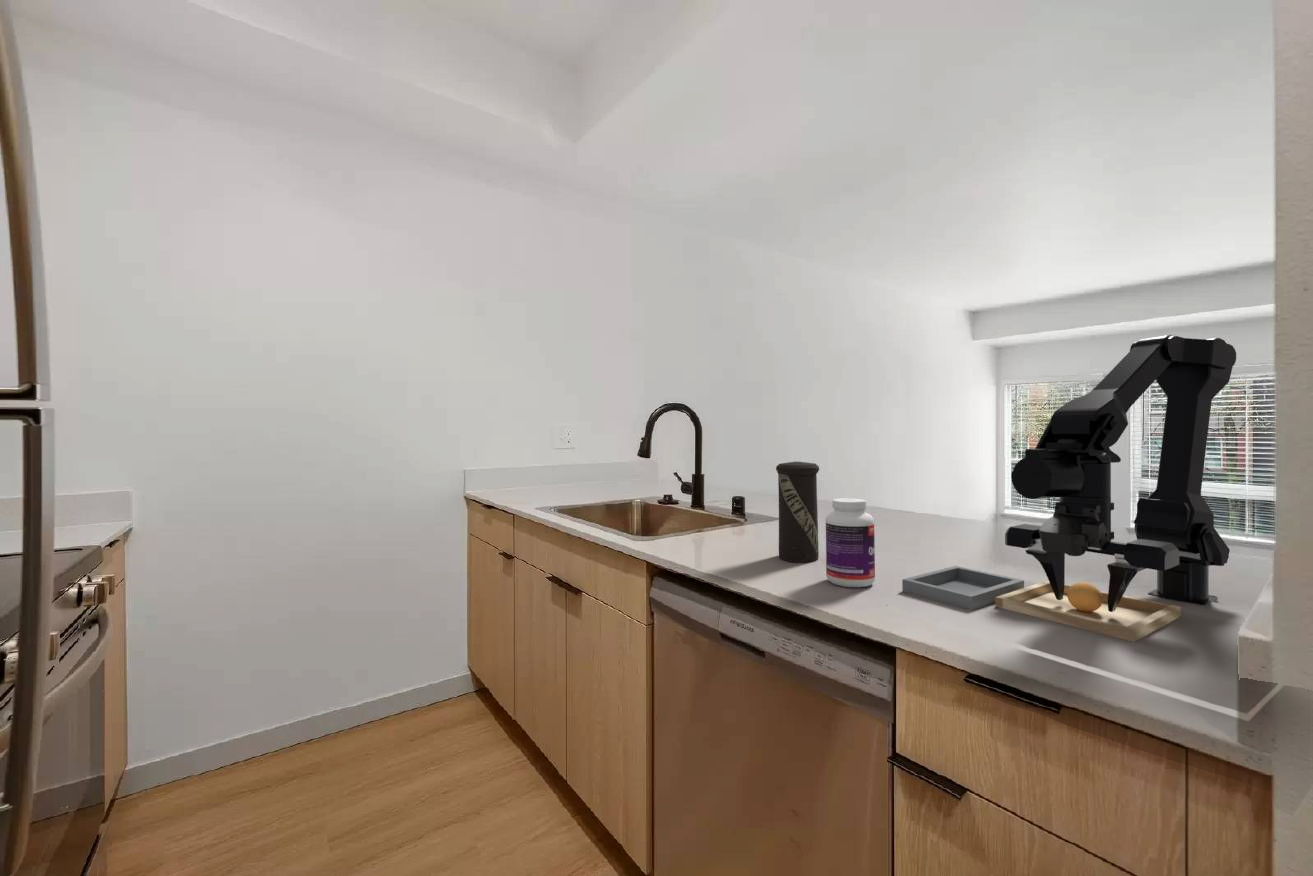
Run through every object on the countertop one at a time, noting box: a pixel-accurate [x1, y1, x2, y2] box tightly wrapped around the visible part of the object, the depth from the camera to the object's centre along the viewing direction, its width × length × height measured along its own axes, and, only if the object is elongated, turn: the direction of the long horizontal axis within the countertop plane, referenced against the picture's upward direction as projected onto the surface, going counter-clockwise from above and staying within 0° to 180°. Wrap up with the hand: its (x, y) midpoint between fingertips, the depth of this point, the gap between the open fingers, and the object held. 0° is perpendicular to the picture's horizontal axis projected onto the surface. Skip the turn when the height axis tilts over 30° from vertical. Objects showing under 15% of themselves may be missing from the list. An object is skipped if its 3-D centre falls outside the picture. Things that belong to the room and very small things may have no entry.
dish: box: [994, 579, 1182, 643], centre depth 77 cm, size 16×16×2 cm
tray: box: [901, 565, 1025, 611], centre depth 87 cm, size 15×11×2 cm
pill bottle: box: [825, 497, 876, 588], centre depth 95 cm, size 8×8×14 cm
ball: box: [1067, 581, 1103, 612], centre depth 77 cm, size 4×4×4 cm
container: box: [775, 461, 820, 563], centre depth 113 cm, size 9×9×20 cm
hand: (1084, 605), depth 77 cm, fingers open, 6 cm apart
